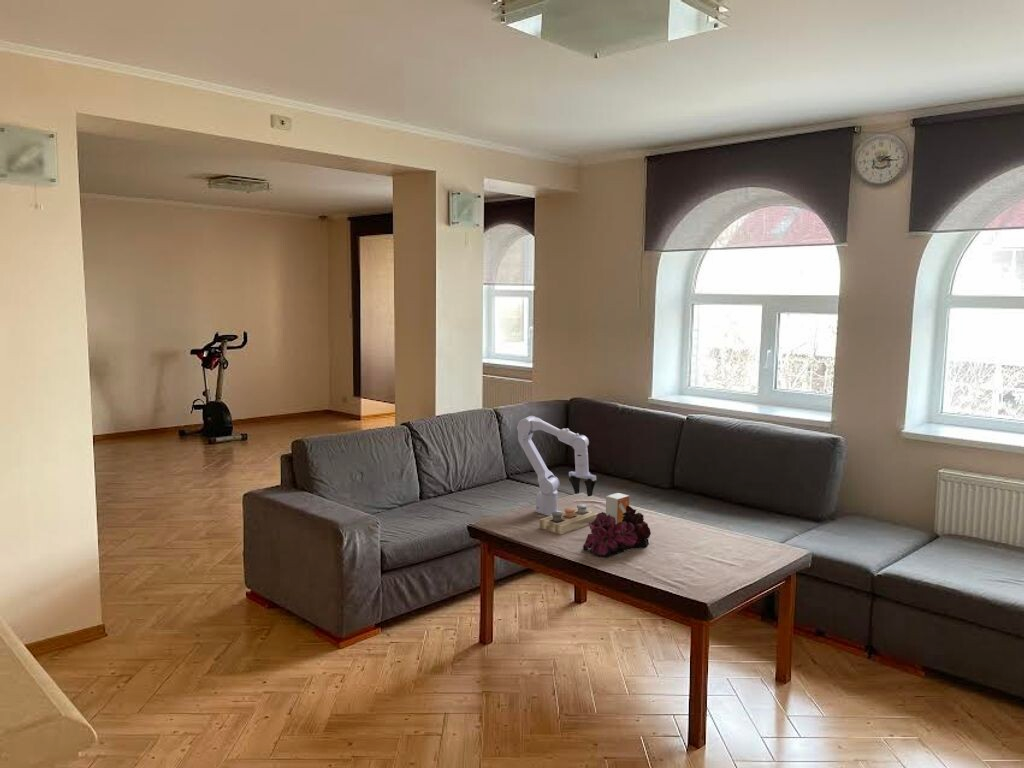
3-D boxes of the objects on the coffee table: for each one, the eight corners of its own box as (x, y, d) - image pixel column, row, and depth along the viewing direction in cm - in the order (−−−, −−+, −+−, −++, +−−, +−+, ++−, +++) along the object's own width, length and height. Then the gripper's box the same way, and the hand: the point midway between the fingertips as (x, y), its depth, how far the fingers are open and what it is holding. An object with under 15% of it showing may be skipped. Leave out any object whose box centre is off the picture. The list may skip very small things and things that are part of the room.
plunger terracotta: (562, 517, 311) (562, 509, 311) (569, 515, 314) (569, 507, 314) (570, 519, 308) (570, 511, 308) (577, 517, 311) (577, 509, 311)
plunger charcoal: (549, 521, 306) (549, 513, 305) (556, 519, 309) (556, 511, 308) (557, 524, 303) (557, 515, 302) (564, 521, 306) (564, 513, 305)
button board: (539, 527, 308) (539, 519, 307) (577, 515, 324) (577, 507, 324) (561, 534, 299) (561, 526, 299) (598, 521, 316) (598, 513, 315)
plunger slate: (574, 513, 317) (574, 505, 316) (581, 511, 320) (581, 503, 320) (582, 515, 314) (582, 507, 313) (589, 513, 317) (589, 505, 316)
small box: (616, 529, 305) (617, 499, 303) (604, 526, 310) (605, 495, 308) (629, 525, 311) (629, 495, 309) (617, 522, 315) (617, 492, 314)
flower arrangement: (619, 531, 303) (620, 496, 301) (661, 543, 290) (663, 506, 288) (573, 551, 280) (574, 513, 278) (617, 565, 267) (618, 524, 265)
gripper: (600, 464, 316) (602, 495, 318) (576, 460, 327) (577, 490, 329) (589, 467, 312) (590, 498, 313) (564, 463, 323) (566, 493, 324)
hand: (583, 494), depth 320 cm, fingers open, 7 cm apart
